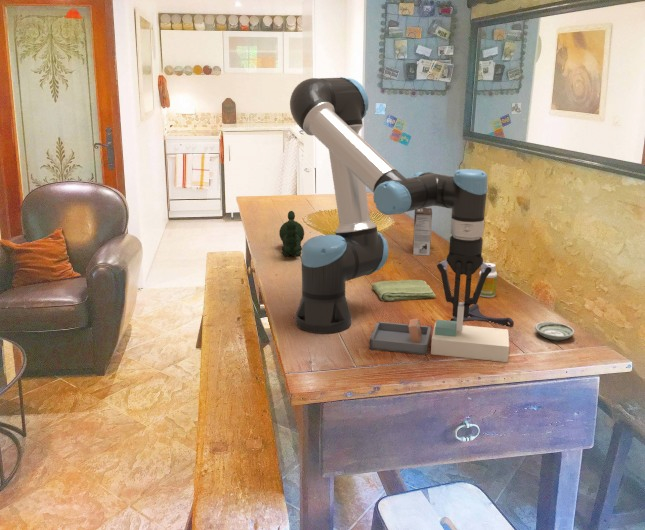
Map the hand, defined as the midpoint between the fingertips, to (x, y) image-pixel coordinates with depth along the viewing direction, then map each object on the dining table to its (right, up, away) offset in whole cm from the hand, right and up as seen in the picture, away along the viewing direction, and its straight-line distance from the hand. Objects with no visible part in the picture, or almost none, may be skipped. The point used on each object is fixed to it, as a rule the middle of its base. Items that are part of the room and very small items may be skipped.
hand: (459, 328), depth 156 cm
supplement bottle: (+17, +6, +38) cm, 42 cm away
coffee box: (+4, +21, +84) cm, 86 cm away
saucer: (+26, -3, +9) cm, 28 cm away
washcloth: (-9, +6, +40) cm, 41 cm away
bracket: (+12, 0, +19) cm, 22 cm away
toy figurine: (-45, +20, +82) cm, 95 cm away
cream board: (+3, -5, +1) cm, 6 cm away
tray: (-14, -4, +5) cm, 15 cm away
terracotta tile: (-9, -1, +3) cm, 10 cm away
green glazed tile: (-3, -1, +1) cm, 3 cm away
